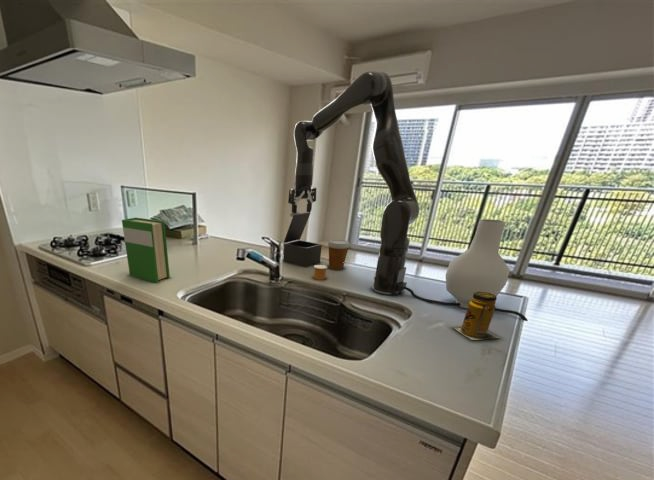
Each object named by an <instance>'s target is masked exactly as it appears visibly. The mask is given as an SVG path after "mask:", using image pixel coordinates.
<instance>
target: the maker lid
mask: <svg viewBox="0 0 654 480" xmlns="http://www.w3.org/2000/svg"><path fill="white" fill-rule="evenodd" d="M289 215H290V217H292V218H291V220H290V221H291V222H289V223H290V224H289V227H288V229H287V232H286V235H285V237H284V240H283V243H289V242H293V241H297V240H301V238H302V235H303V233H304V231H305V228H306V225H307V223H308V221H309V218H310V215H311V212H307V211H306V212H301V213H300V211H297V213H296V214H293V213H292V212H290V213H289Z"/></svg>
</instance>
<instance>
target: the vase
mask: <svg viewBox="0 0 654 480" xmlns="http://www.w3.org/2000/svg"><path fill="white" fill-rule="evenodd" d="M505 227H506V221H505V220H501V219H491V218H489V219H488V218H481V219H479V221H478V225H477V227H476V231H475V234H474V236H473V239H472V240H471V243H470V246H469V248H468V249H467V250H465V251H464V252H462V253H461V254H459V255H458V256H456V257H454V258H453V259H452V260H449V261H450V262H449V264H448V267H447V270H446V272H445V288H446V289H445V290H446V292H448V293H449V294H450V295H451V296H452V297H453V298H455V303H460V306H459V307H460V308H462V309H463V308H464V309H467V308H468V305H469V302H470V301H472V298H473V294H474V293H475V292H486V293H491V294H493V295H495V296H496V298H498V295H500V293H501V292H502V291H503V289H504V288H505V286H506V285H507V281H508V278H509V274H510V271H511V270H510V267H509V266H508V264H507V263H506V262H505V260H504V259H503V257H502V255H501V254H500V253H499V252H500V246H501V239H502V235H503V232H504V229H505Z"/></svg>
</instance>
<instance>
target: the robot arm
mask: <svg viewBox="0 0 654 480" xmlns="http://www.w3.org/2000/svg"><path fill="white" fill-rule="evenodd" d="M392 82H393V81H392V79H391V76H390V75H389V74H388V73H387V72H385V71H382V70H381V71H380V70H379V71H378V70H377V71H376V70H367V71H365V72H363V73H361V74H360V75H359V76H357V78H356V79H355V80H354V81H353V82H352V83H351V84H350V85H349V86H347V88H346V89H344V91H342V92H341V93H340V94H339V95H338V96H337V97H336V98H335V99H334V100H332V101H331V102H330V103H328V104H327V105H326V106H324V107H323V108H322V109H320V110H318V112H316V113H315V114H314V115H313V117H312V119H311V120H300V121H298V122H296V124H295V127H294V130H293V138H294V144H295V149H296V164H295V172H294V186H295V188H289V190H288V201H287V202H288V204H290V205H291V213H293V214H296V213H297V212H298V203H299V201H301V200H306V202H307V203H306V213H307V212H310V213H311V212H312V211H313V209H312V207H313V203H314V202H317V187H312V185H313V178H314V155H315V150H314V148H313V147H312V146H309V144H308V142H309V141H314V140H317V139H318V138H319V137H320V136H321V135H322V134H323V133H324V132H325V131H326V130H328V129H329V128H331V127H332V126H335V125H336V124H337V123H338V122H339V121H340V120H341V119H342V117H343V116H344V115H345V114H346V113H347V112H348V111H349V110H351V109H354V108H356V107H358V106H361V105H365V106H366V105H367V106H368V105H370V106H371V109H372V112H373V117H374V123H375V124H374V130H373V136H372V141H371V151H372V157H373V159H374V163H375V166H376V170H377V171H378V173H379V175H380V176H381V177H382V179H383V181H384V182H385V184H386V186H387V188H388V190H389V194H390V199H391V201H390V202H389V203H387V204H386V206H385V207H384V209H383V213H382V217H381V225H380V233H379V238H380V246H379V250H378V251H379V252H378V258H377V263H376V267H375V273H374V277H373V285H372V291H373V292H375V293H377V294H380V295H386V296H387V295H389V296H396V295H398V294H399V293H403V291H407V292H409V293H410V294H411V296H412V297H414V298H415V299H418V300H420V301H422V302H423V301H424V302H427V303H432V304H437V305H443V306H456V307H460V303H456V302H448V301H440V300H435V299H430V298H429V299H428V298H424V297H421V296H419V295H417V294H415V293H414V290H413V289H411V288H409V287H407V282H405V276H406V272H407V267H406V266H405V265H406V261H407V255H408V252H409V247H410V242H411V240H410V238H409V236H408V230H409V225H412V224H413V223H415V222H416V221H417V219H418V218H419V215H420V205H419V201H418V198H417V196H416V193H415V190H414V188H413V184H412V182H411V177H410V172H409V167H408V163H407V158H406V153H405V148H404V144H403V140H402V135H401V132H400V128H399V122H398V117H397V113H396V106H395V99H394V88H393V83H392ZM494 312H499V313H504V314H505V313H506V314H512V315H516V316H518V317H520V318H521V319H522V321H524V322H529V321H528V318H527V317H526V316H525V315H524V314H523V313H521V312H520V311H519V312H518V311H516V310H511V309H503V308H498V307H495V311H494Z"/></svg>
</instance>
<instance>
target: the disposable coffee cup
mask: <svg viewBox="0 0 654 480" xmlns="http://www.w3.org/2000/svg"><path fill="white" fill-rule="evenodd" d="M327 246H328V268H329V269H331V270H342V269H344V267H345V262H346V258H347V255H348V251H349V248H350V246H351V244H350V241H349V240H345V239H330V240H329V241H328V243H327ZM343 262H344V263H343Z"/></svg>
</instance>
